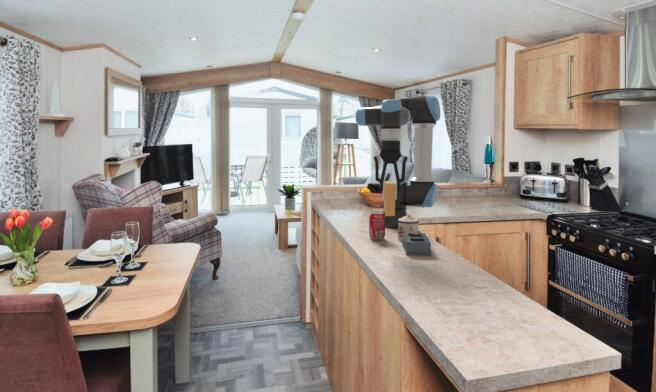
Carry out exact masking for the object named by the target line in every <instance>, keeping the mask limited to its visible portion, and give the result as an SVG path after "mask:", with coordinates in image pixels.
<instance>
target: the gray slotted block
mask: <svg viewBox="0 0 656 392" xmlns="http://www.w3.org/2000/svg"><path fill="white" fill-rule="evenodd" d="M401 243H402V247H403V250H404V253H405V255H406V256H425V257H426V256H429V257H430V256H431V255H432V254H431V250H432V249H431V248H432V242H431V241H430V239H429V238H428V235H426V233H423V232H421V233H419V232H418V233H403V240H402V241H401Z"/></svg>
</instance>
